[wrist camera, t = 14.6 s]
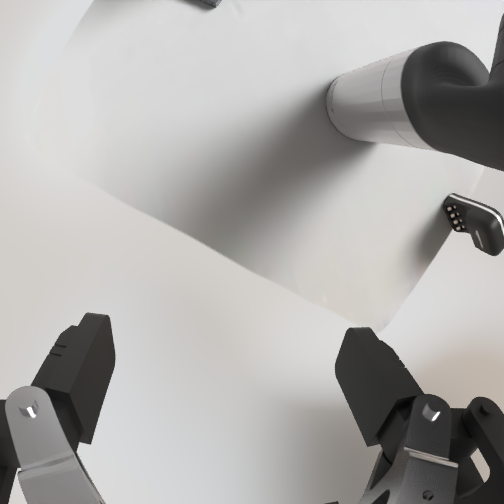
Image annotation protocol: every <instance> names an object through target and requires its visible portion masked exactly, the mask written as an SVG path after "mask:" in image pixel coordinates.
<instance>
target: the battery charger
mask: <svg viewBox="0 0 504 504" xmlns="http://www.w3.org/2000/svg"><path fill="white" fill-rule="evenodd" d="M444 210H445V213H446V215H447V217H448V219H449V221H450V223H451V226H452V228H453V229H454V231H456V232H466V233H470V234H471V237H472V239H473V242H474V245H475V247H476V248H478V249H480V250H481V251H483V252H485V253H487V254H489V255H492V256H497V255H498V254H499V253H500V252H501V251H502V250H503V249H504V220H503V217H502V216H501V214H500V213H499V212H498V211H497V210H496V209H494V208H492V207H490V206H487V205H485V204H483V203H480V202H477V201H474V200H471V199H468V198H465V197H463V196H460V195H457V194H455V193H452V194H450V195H449V197H448V198H447V200H446V201H445V203H444Z"/></svg>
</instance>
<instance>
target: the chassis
mask: <svg viewBox="0 0 504 504" xmlns="http://www.w3.org/2000/svg"><path fill="white" fill-rule="evenodd" d="M201 1H203V2H205V3H207V4H210V5H212V6H214V7H217V6H218V5H219V3H220V2H221V1H222V0H201Z"/></svg>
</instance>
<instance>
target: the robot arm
mask: <svg viewBox="0 0 504 504" xmlns="http://www.w3.org/2000/svg"><path fill="white" fill-rule="evenodd" d="M326 107H327V113H328V115H329V118H330V120H331V122H332V123H333V125H334V126H335V127H336V128H337V130H338V131H339V132H341V133H342V134H343V135H345V136H347V137H349V138H351V139H355V140H360V141H369V142H377V143H385V144H393V145H401V146H408V147H414V148H421V149H428V150H434V151H439V152H444V153H448V154H453V155H456V156H459V157H462V158H464V159H467V160H470V161H472V162H475V163H478V164H481V165H484V166H487V167H491V168H495V169H497V170H501V171H504V14H503V16H502V19H501V22H500V27H499V33H498V39H497V43H496V48H495V53H494V58H493V63H492V67H491V72H490V74H489V72H488V70H487V69H486V67H485V66H484V64H483V63H482V62H481V60H480V59H479V58H478V57H477V56H476V55H475V54H474V53H473V52H471V51H470V50H469V49H467V48H466V47H464V46H462V45H460V44H457V43H453V42H447V41H443V42H436V43H432V44H428V45H425V46H421V47H418V48H415V49H411V50H408V51H405V52H403V53H400V54H397V55H394V56H391V57H388V58H385V59H382V60H379V61H377V62H374V63H371V64H369V65H366V66H363V67H361V68H358V69H355V70H353V71H351V72H348V73H346V74H343V75H341V76H339V77H338V78H337V79H335V80H334V82H333V83H332V84H331V86H330V88H329V90H328V93H327V97H326ZM114 367H115V349H114V343H113V336H112V329H111V322H110V318H109V316H108V315H103V314H94V313H86V314H85V315H84V317H83V319H82V320H81V322H80V324H79V325H78V326H73V325H72V326H70V327H69V328H68V329H67V330H65V331H64V332H62V333H61V334H60V336H59V337H58V339H57V341H56V342H55V345H54V346H53V347H52V349H51V350H50V352H49V355H48V356H47V357H46V359H45V361H44V362H43V364H42V366H41V368H40V369H39V371H38V373H37V375H36V377H35V378H34V380H33V382H32V384H31V386H25V387H21V388H18V389H16V390H15V391H13V392H12V393H11V394H10V395H9V396H8V398H7V400H0V504H8V502H9V498H10V494H11V490H12V486H13V482H14V478H15V474H16V471H17V468H21V471H19V472H18V479H19V483H20V485H21V488H22V491H23V494H24V496H25V499H26V501H27V504H106V503H105V502H104V500H103V499H102V497H101V495H100V494H99V492H98V491H97V489H96V487H95V485H94V484H93V482H92V480H91V478H90V477H89V475H88V473H87V471H86V469H85V467H84V465H83V464H82V462H81V460H80V458H79V456H78V454H77V452H76V451H77V448H78V445H79V442H82V443H86V444H91V442H92V439H93V435H94V431H95V428H96V425H97V421H98V418H99V414H100V411H101V408H102V405H103V401H104V398H105V395H106V392H107V389H108V386H109V383H110V379H111V377H112V374H113V370H114ZM335 375H336V378H337V380H338V382H339V384H340V387H341V389H342V391H343V393H344V395H345V397H346V400H347V402H348V404H349V407H350V409H351V411H352V413H353V416H354V418H355V420H356V422H357V424H358V427H359V429H360V431H361V433H362V436H363V438H364V440H365V442H366V445H367V447H368V446H373V445H377V444H380V445H381V447H382V450H381V451H380V452H379V454H378V457H377V460H376V463H375V465H374V468H373V471H372V474H371V476H370V479H369V481H368V484H367V486H366V489H365V491H364V494H363V496H362V498H361V499H360V501H359V502H358V504H504V414H503V412H502V411H501V410H500V408H499V407H498V406H497V404H495V403H494V402H493V401H492V400H490V399H488V398H485V397H476V398H474V399H473V400H472V401H471V403H470V404H469V405H468V407H467V408H466V409H464V408H450V406H449V405H448V404H447V402H446V401H444V400H443V399H441V398H440V397H438V396H436V395H432V394H424V393H423V391H422V390H421V388H420V387H419V385H418V384H417V382H416V381H415V380H414V378H413V377H412V375H411V374H410V372H409V371H408V370H407V368H405V365H404V364H403V363H402V361H401V360H399V357H398V356H397V355H396V353H395V352H394V350H393V349H392V348H391V347H390V346H388V345H387V344H386V343H384V342H383V341H381V340H379V339H378V338H377V336H376V335H375V333H374V332H373V331H372V329H371V328H369V327H361V328H349V329H348V330H347V331H346V333H345V336H344V340H343V342H342V345H341V348H340V351H339V354H338V357H337V359H336V363H335ZM477 448H479V450H480V452H481V454H482V455H483V457H484V459H485V460H486V462H487V464H488V466H489V468H490V476H489V478H488V480H487V481H486V482H485V483H484V482H483V479H482V477H481V476H480V474H479V472H478V470H477V468H476V467H475V464H474V463H473V461H472V459H471V457H470V456H471V455H472V454H473V453H474V452H475V451H476V449H477ZM326 504H339V503H338V501H337V502H332V503H326Z"/></svg>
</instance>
